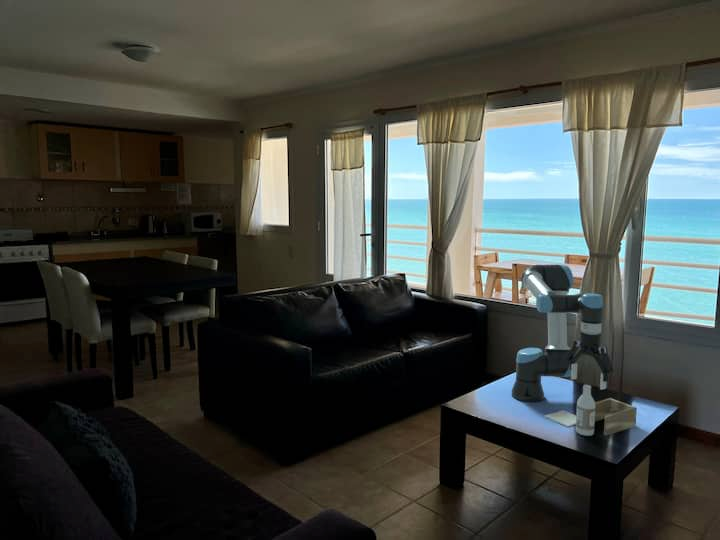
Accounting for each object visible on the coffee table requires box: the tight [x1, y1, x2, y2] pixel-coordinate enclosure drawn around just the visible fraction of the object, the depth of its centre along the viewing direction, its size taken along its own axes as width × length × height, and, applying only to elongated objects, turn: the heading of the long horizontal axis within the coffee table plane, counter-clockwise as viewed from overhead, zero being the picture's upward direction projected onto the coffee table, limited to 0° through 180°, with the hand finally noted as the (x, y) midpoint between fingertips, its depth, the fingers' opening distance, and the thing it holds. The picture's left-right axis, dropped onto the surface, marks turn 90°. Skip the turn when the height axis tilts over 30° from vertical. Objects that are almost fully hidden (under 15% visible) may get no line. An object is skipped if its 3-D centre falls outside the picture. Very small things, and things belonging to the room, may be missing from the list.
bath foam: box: [575, 384, 596, 437], centre depth 209 cm, size 7×7×20 cm
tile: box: [544, 409, 576, 428], centre depth 224 cm, size 12×12×1 cm
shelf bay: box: [595, 397, 638, 436], centre depth 217 cm, size 12×19×8 cm, turn 119°
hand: (587, 383), depth 208 cm, fingers open, 13 cm apart
